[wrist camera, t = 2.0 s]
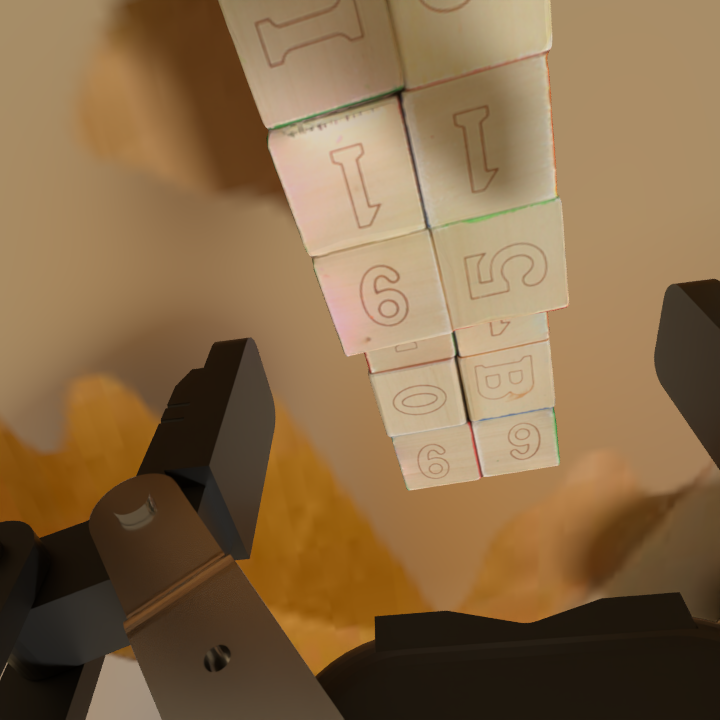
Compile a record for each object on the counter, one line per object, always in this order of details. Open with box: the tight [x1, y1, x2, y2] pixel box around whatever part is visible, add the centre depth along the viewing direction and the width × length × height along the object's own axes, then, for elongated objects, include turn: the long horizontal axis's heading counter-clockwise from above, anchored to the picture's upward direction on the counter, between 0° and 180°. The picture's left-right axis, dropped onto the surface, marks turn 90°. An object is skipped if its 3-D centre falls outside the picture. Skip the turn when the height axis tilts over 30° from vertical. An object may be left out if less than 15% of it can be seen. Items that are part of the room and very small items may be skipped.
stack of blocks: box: [218, 0, 569, 490], centre depth 19 cm, size 21×6×12 cm, turn 14°
